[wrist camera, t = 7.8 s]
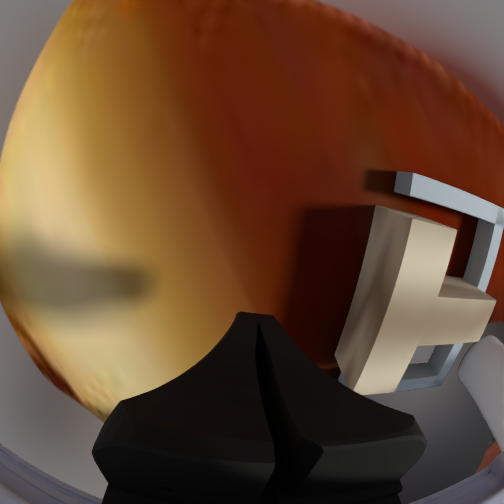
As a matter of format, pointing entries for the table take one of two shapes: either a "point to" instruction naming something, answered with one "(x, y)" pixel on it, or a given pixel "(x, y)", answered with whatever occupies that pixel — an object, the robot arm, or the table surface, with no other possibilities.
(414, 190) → the bracket
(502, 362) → the drinking glass
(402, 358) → the t block
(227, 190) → the table surface
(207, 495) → the robot arm
